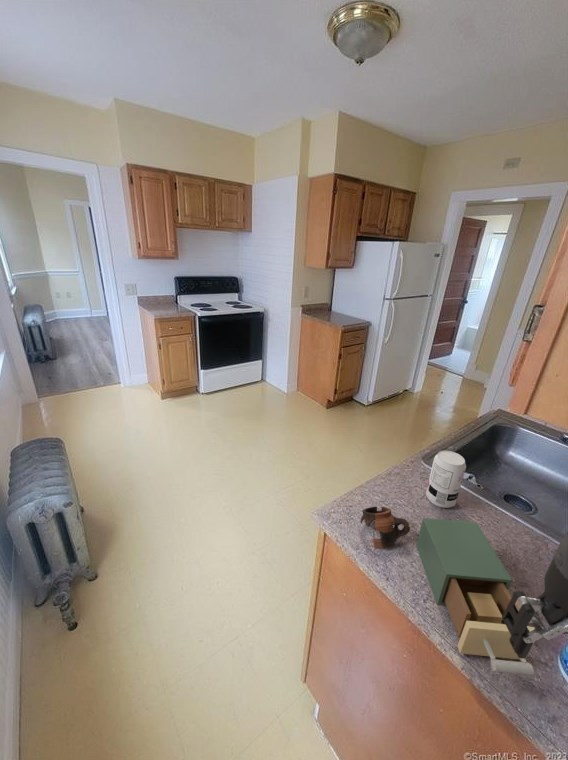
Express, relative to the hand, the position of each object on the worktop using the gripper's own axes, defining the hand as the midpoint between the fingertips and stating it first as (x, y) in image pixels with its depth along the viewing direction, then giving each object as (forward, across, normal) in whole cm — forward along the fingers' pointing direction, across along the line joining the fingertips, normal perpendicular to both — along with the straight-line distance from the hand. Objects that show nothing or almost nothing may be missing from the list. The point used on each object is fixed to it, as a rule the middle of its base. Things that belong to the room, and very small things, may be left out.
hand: (549, 654), depth 45 cm
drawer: (+15, 0, +12) cm, 20 cm away
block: (+14, 0, +14) cm, 20 cm away
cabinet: (+16, 0, +24) cm, 29 cm away
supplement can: (+16, +6, +49) cm, 52 cm away
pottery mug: (+16, -14, +34) cm, 40 cm away
